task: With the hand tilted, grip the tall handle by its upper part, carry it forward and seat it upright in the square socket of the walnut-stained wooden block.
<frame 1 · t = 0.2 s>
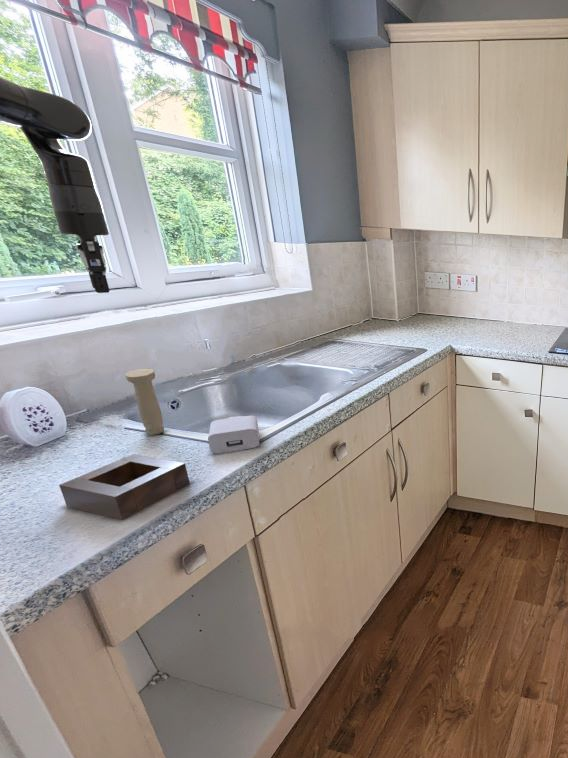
hand: (101, 290, 99), 33 cm above the table, tool pointing down, fingers open, 8 cm apart
handle: (156, 433, 108), on the table
socket: (131, 494, 84), on the table
charger: (237, 438, 107), on the table
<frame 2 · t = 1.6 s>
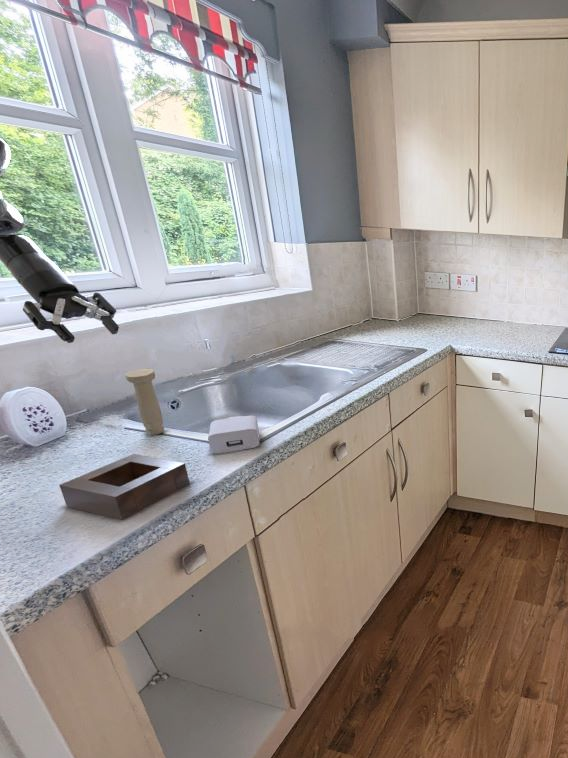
hand: (94, 336, 102), 22 cm above the table, tool tilted 45°, fingers open, 8 cm apart
nothing on the table moved.
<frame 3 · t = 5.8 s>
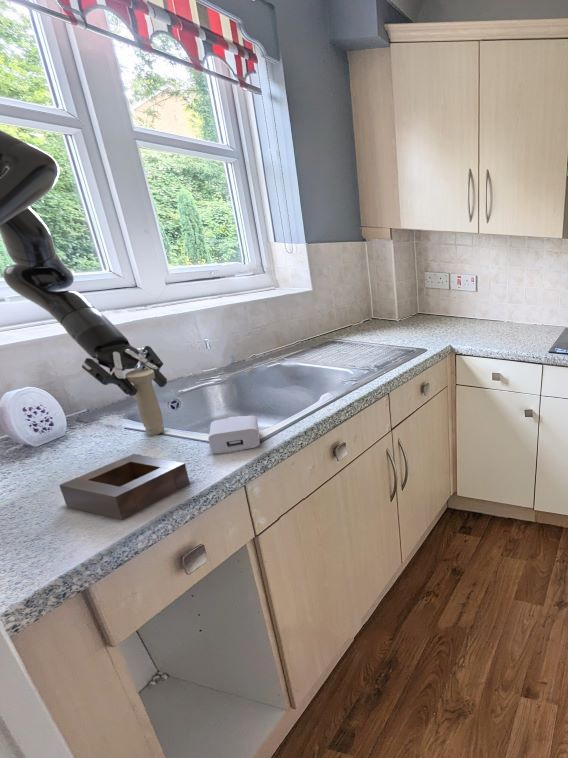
hand: (149, 388, 104), 11 cm above the table, tool tilted 45°, fingers closed on handle, 6 cm apart
handle: (156, 433, 108), on the table, touching gripper
everything else where it was.
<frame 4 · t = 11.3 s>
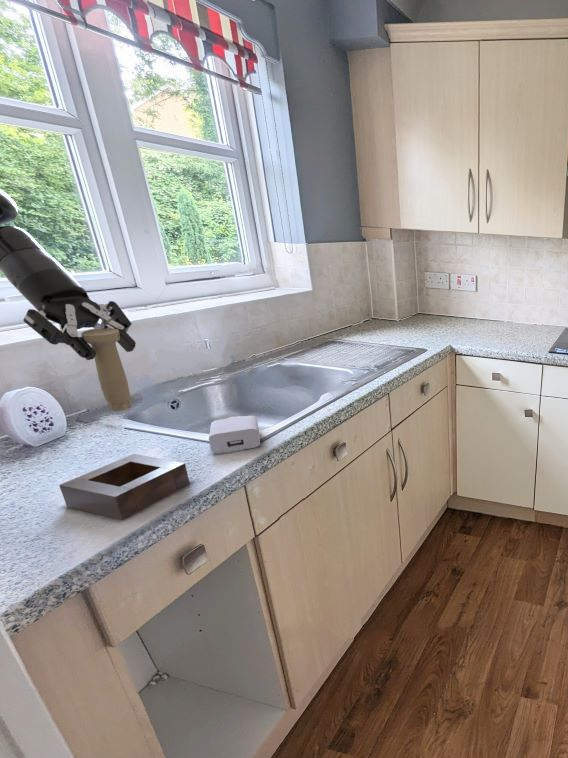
hand: (112, 352, 83), 25 cm above the table, tool tilted 45°, fingers closed on handle, 6 cm apart
handle: (121, 409, 87), point 13 cm above the table, touching gripper
everything else where it was.
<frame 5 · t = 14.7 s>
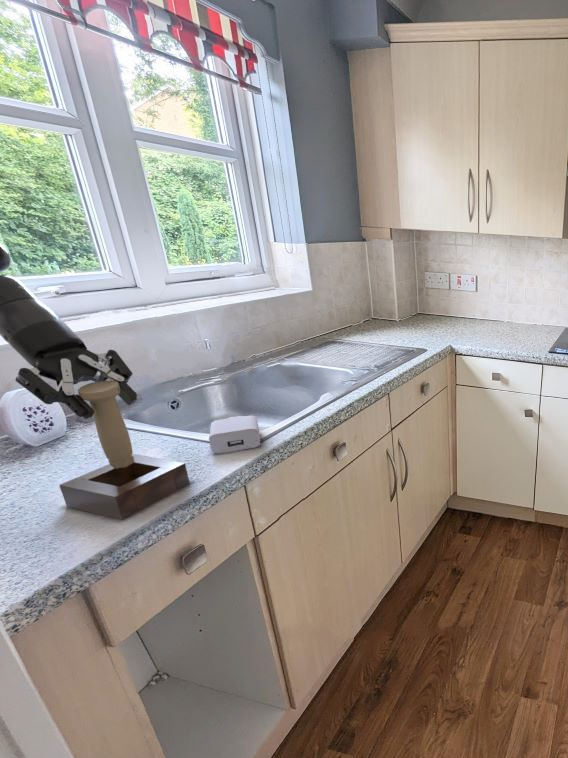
hand: (112, 408, 77), 18 cm above the table, tool tilted 45°, fingers closed on handle, 6 cm apart
handle: (123, 466, 81), point 6 cm above the table, touching gripper
everything else where it was.
when the fingers open (11 cm above the table, at t = 17.1 s): handle stays where it is, resting in socket.
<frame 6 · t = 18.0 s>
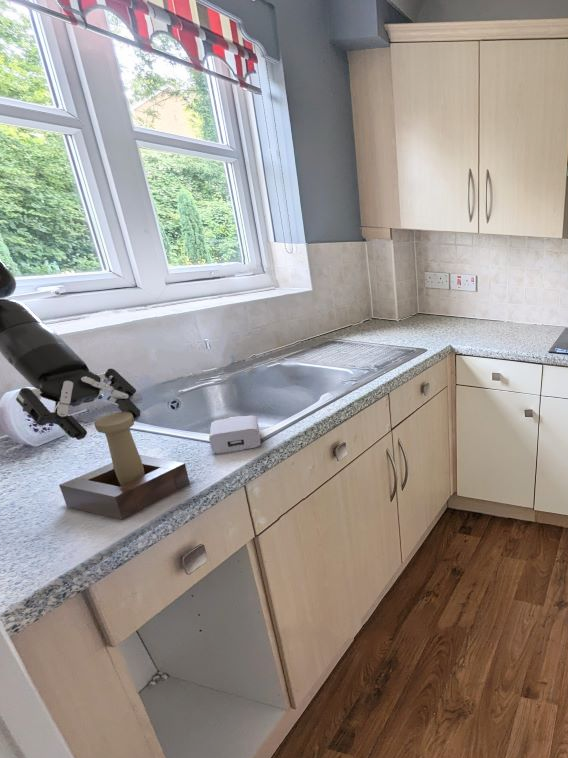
hand: (111, 427, 79), 14 cm above the table, tool tilted 45°, fingers open, 8 cm apart
handle: (136, 493, 84), resting in socket
everything else where it was.
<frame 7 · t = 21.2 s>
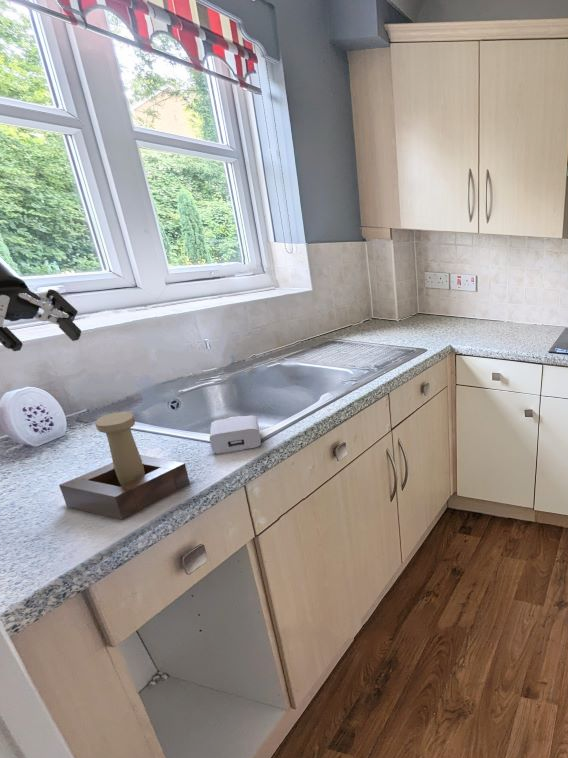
hand: (49, 342, 80), 27 cm above the table, tool tilted 45°, fingers open, 8 cm apart
nothing on the table moved.
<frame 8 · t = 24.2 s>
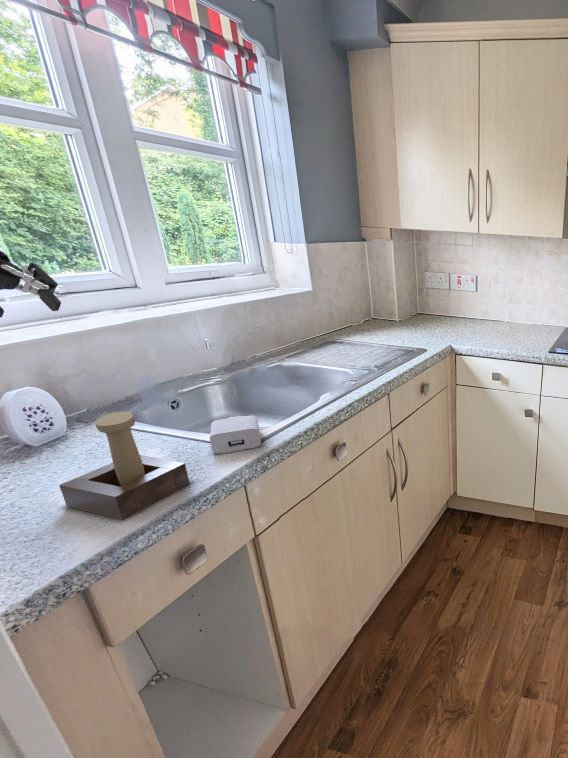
hand: (30, 311, 85), 31 cm above the table, tool tilted 45°, fingers open, 8 cm apart
nothing on the table moved.
at the end: handle 0.8 cm off-centre in the socket, point 0.0 cm above the socket's base; handle tilted 0° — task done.
